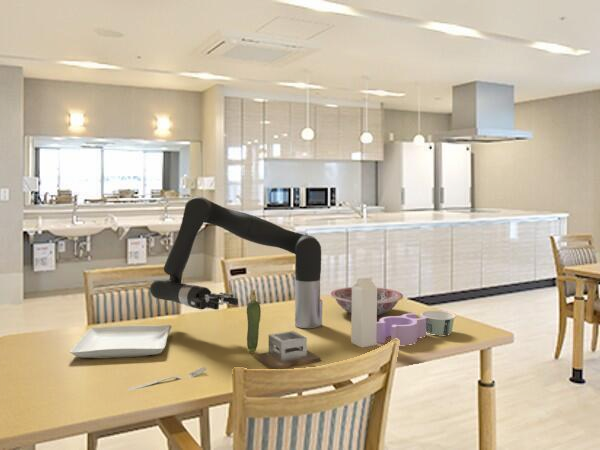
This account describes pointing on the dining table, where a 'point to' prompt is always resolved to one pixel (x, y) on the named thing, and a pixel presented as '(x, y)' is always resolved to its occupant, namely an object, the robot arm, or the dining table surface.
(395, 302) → the ceramic bowl
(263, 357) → the brown rectangular board
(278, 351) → the gray slotted crate
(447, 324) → the food container
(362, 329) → the milk
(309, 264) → the robot arm
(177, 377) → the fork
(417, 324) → the clip
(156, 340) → the square plate
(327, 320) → the dining table surface
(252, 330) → the vegetable
